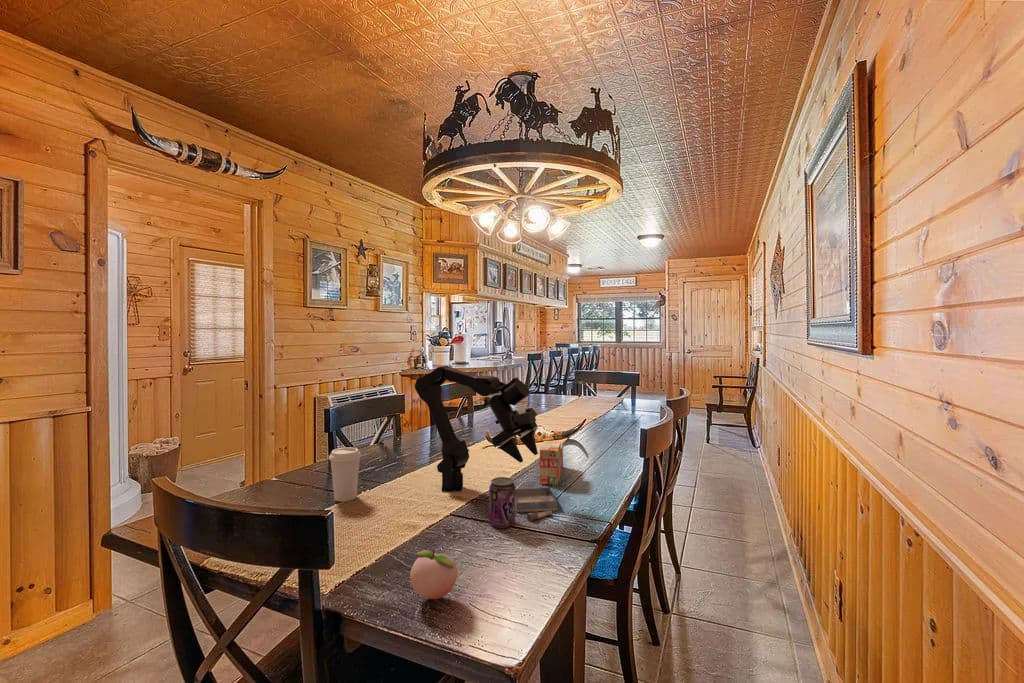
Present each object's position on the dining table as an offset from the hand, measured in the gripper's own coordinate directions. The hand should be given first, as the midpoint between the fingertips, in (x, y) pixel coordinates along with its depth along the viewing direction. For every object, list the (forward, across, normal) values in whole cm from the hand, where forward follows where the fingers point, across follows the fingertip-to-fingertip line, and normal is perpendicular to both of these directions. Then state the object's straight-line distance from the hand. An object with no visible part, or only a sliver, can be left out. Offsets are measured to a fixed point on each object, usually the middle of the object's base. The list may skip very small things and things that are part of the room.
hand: (529, 458), depth 141 cm
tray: (+12, +2, +8) cm, 15 cm away
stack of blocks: (+8, +30, +14) cm, 34 cm away
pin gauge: (+16, -6, +3) cm, 17 cm away
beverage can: (+12, -15, +8) cm, 21 cm away
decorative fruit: (+16, -53, +3) cm, 55 cm away
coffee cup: (-18, -24, +51) cm, 60 cm away
